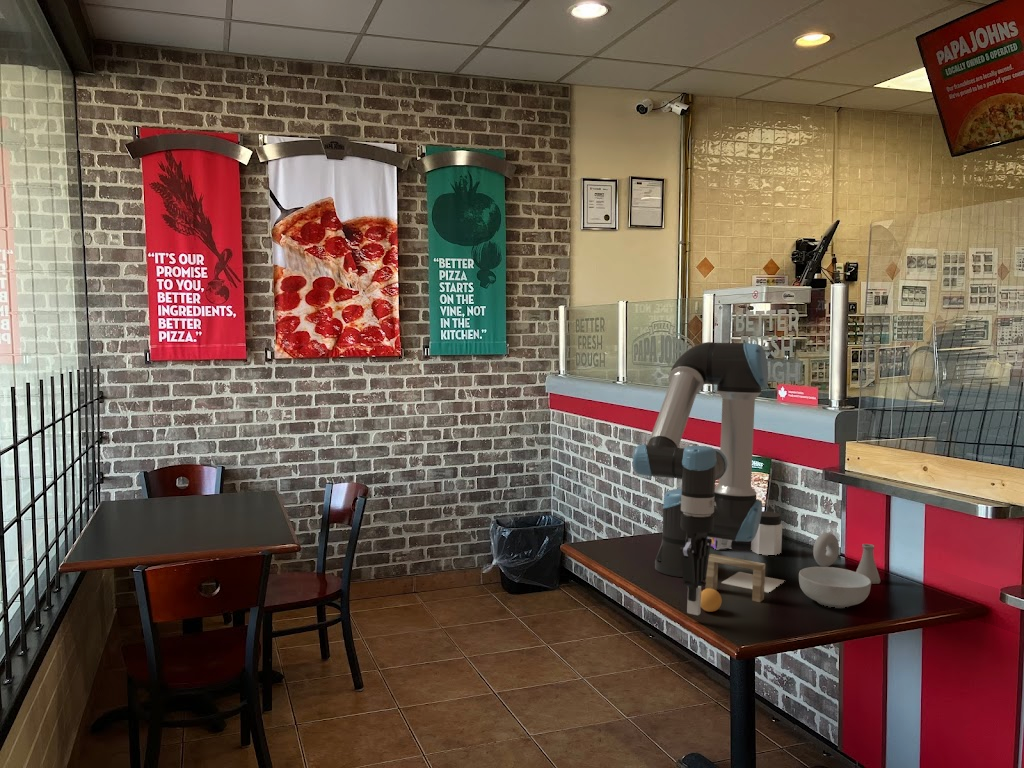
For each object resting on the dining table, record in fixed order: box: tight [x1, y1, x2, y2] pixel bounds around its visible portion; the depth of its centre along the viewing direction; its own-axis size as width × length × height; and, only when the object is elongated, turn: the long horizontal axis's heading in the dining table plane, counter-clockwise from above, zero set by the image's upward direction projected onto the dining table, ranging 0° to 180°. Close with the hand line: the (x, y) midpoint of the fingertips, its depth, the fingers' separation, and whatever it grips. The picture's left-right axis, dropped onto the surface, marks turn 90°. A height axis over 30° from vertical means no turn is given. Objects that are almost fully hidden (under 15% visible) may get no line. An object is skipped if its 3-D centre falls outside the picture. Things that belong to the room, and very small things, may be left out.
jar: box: [750, 510, 783, 556], centre depth 256 cm, size 9×8×12 cm
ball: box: [701, 588, 723, 613], centre depth 201 cm, size 6×6×6 cm
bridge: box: [704, 553, 766, 603], centre depth 214 cm, size 3×14×9 cm, turn 54°
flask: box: [855, 543, 882, 585], centre depth 229 cm, size 7×7×10 cm
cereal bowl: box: [798, 566, 872, 609], centre depth 209 cm, size 17×17×7 cm
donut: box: [812, 532, 840, 567], centre depth 242 cm, size 10×3×10 cm, turn 125°
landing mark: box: [720, 571, 786, 594], centre depth 225 cm, size 13×13×1 cm
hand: (693, 613), depth 193 cm, fingers closed
